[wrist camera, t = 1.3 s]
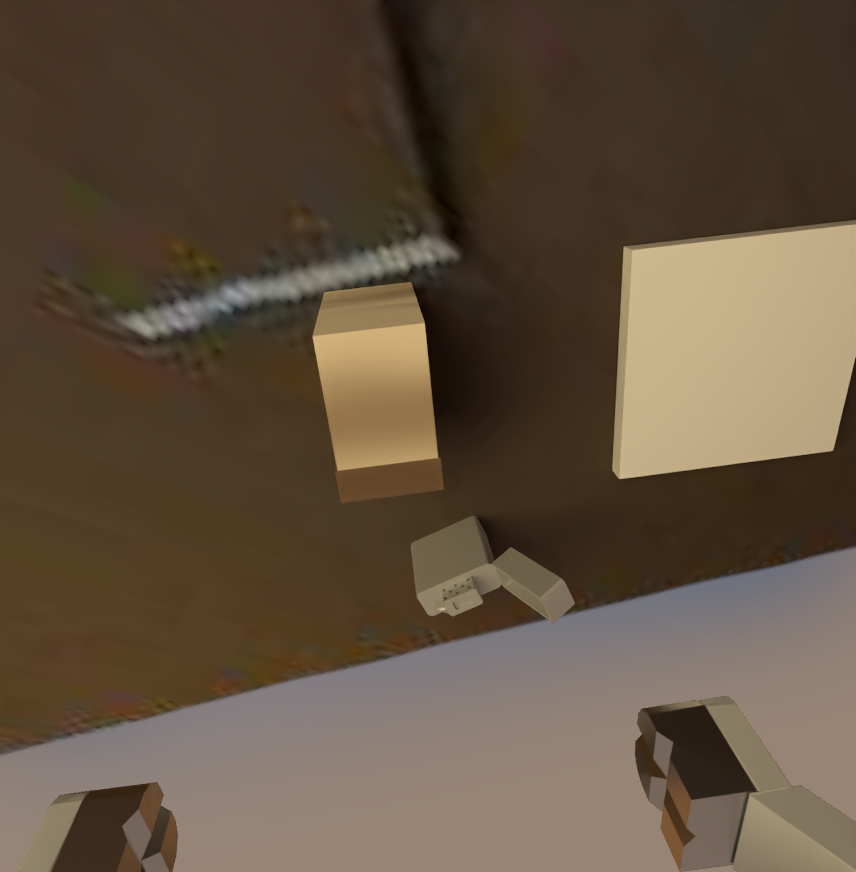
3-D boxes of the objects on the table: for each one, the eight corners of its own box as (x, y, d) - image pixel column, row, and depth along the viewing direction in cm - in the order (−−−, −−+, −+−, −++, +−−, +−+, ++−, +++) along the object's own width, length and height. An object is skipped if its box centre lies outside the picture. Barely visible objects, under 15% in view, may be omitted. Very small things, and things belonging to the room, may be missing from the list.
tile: (623, 246, 28) (632, 250, 27) (871, 218, 28) (887, 220, 27) (612, 470, 33) (619, 479, 32) (820, 442, 34) (832, 450, 33)
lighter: (422, 565, 35) (437, 674, 28) (409, 543, 34) (421, 650, 27) (534, 515, 34) (580, 614, 27) (523, 492, 33) (567, 588, 26)
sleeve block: (322, 292, 27) (309, 336, 21) (413, 281, 28) (427, 322, 21) (345, 429, 30) (341, 503, 24) (427, 418, 31) (443, 489, 24)
